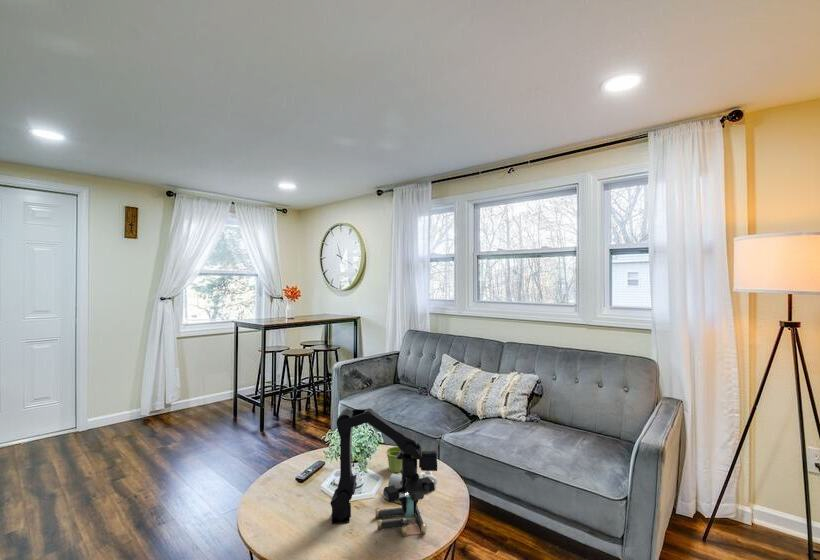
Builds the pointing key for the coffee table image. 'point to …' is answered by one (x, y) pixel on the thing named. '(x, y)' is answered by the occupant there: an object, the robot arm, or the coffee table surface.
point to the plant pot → (394, 459)
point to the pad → (413, 529)
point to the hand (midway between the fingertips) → (409, 511)
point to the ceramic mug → (395, 480)
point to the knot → (428, 476)
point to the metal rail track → (397, 522)
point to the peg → (409, 507)
